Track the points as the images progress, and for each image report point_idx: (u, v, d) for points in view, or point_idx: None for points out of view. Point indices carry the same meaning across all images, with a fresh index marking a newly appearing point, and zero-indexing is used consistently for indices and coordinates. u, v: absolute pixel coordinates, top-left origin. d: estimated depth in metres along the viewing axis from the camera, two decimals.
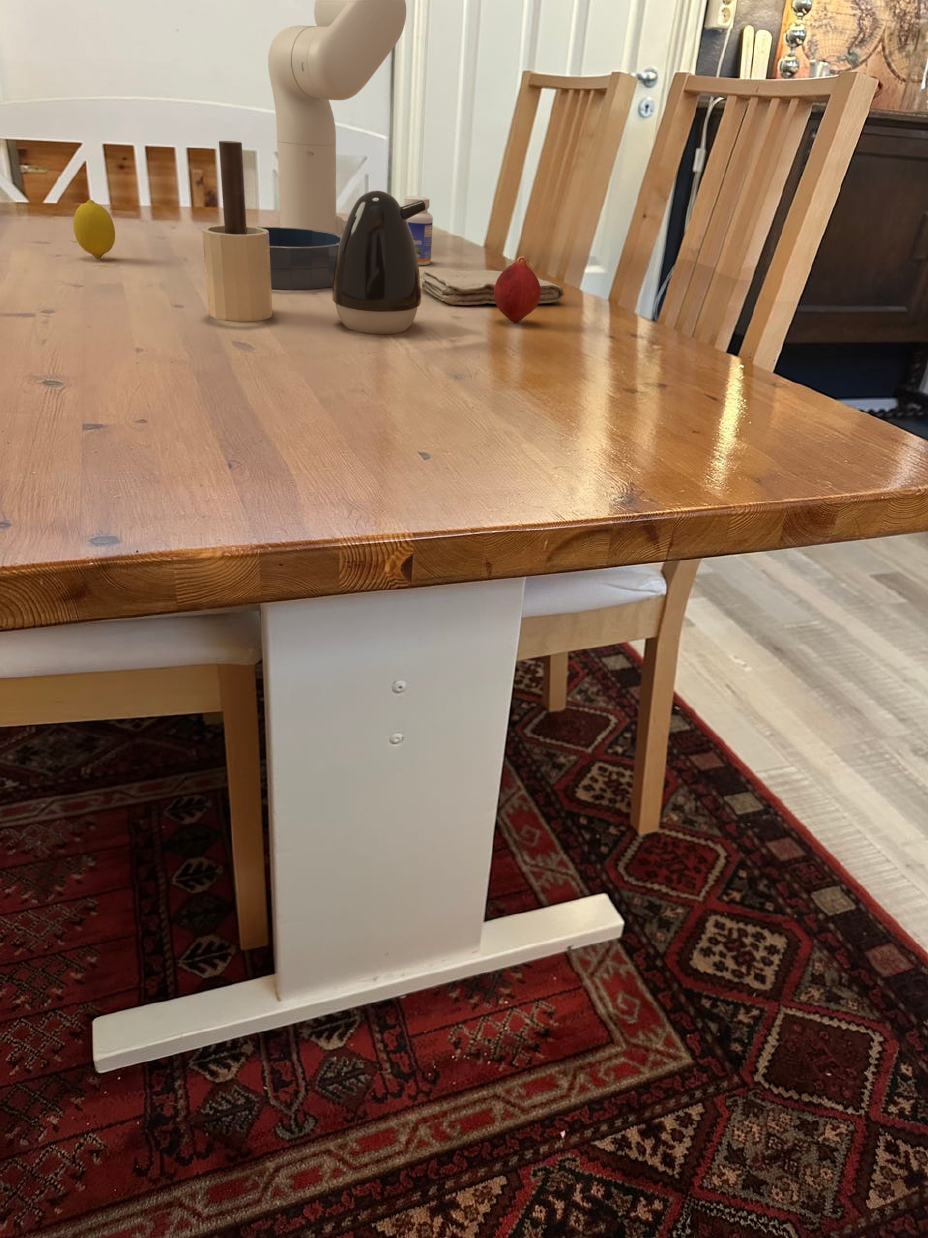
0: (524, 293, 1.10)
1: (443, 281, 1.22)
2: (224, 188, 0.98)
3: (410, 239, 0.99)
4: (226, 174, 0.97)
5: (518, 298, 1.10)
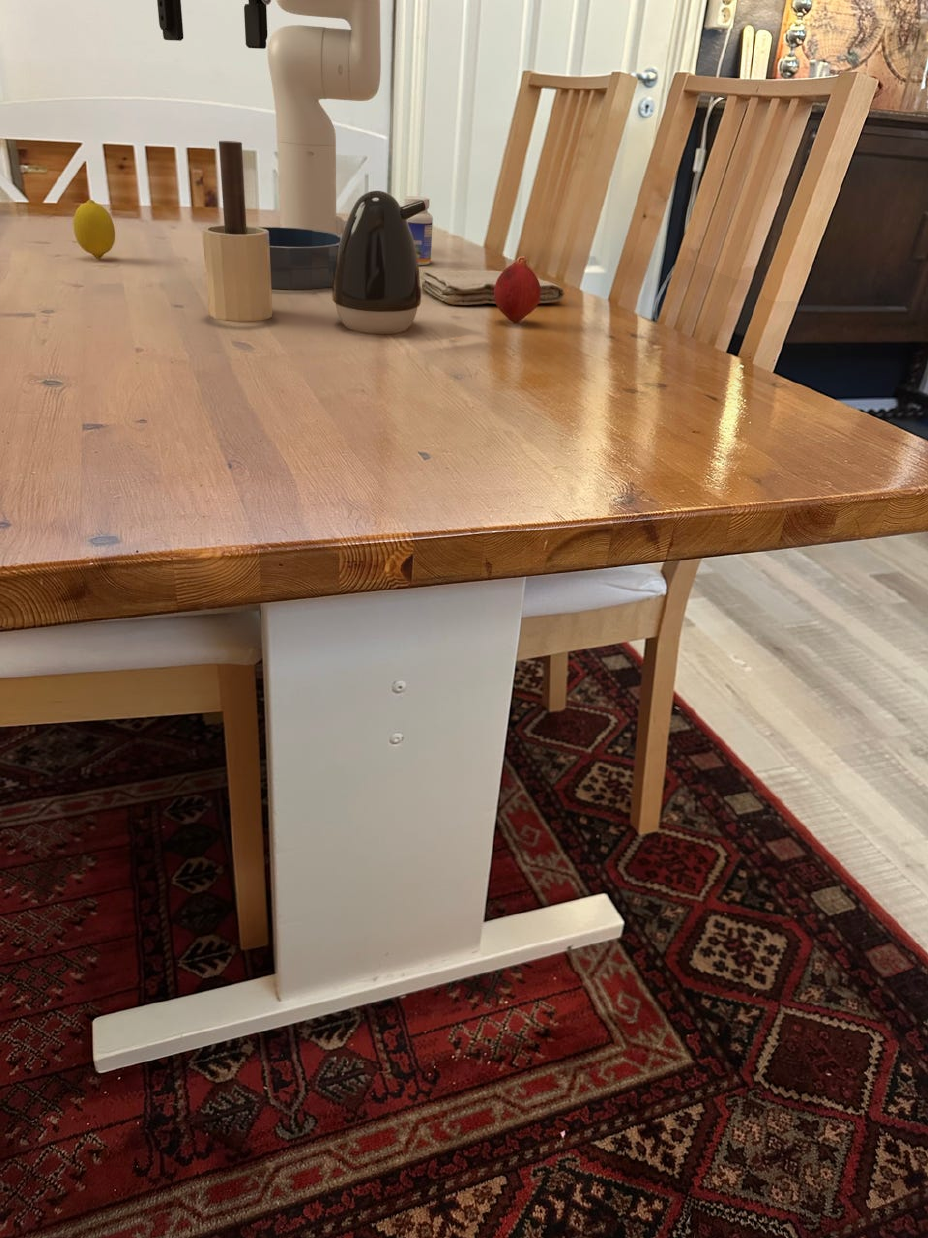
0: (524, 293, 1.10)
1: (443, 281, 1.22)
2: (224, 188, 0.98)
3: (410, 239, 0.99)
4: (226, 174, 0.97)
5: (518, 298, 1.10)
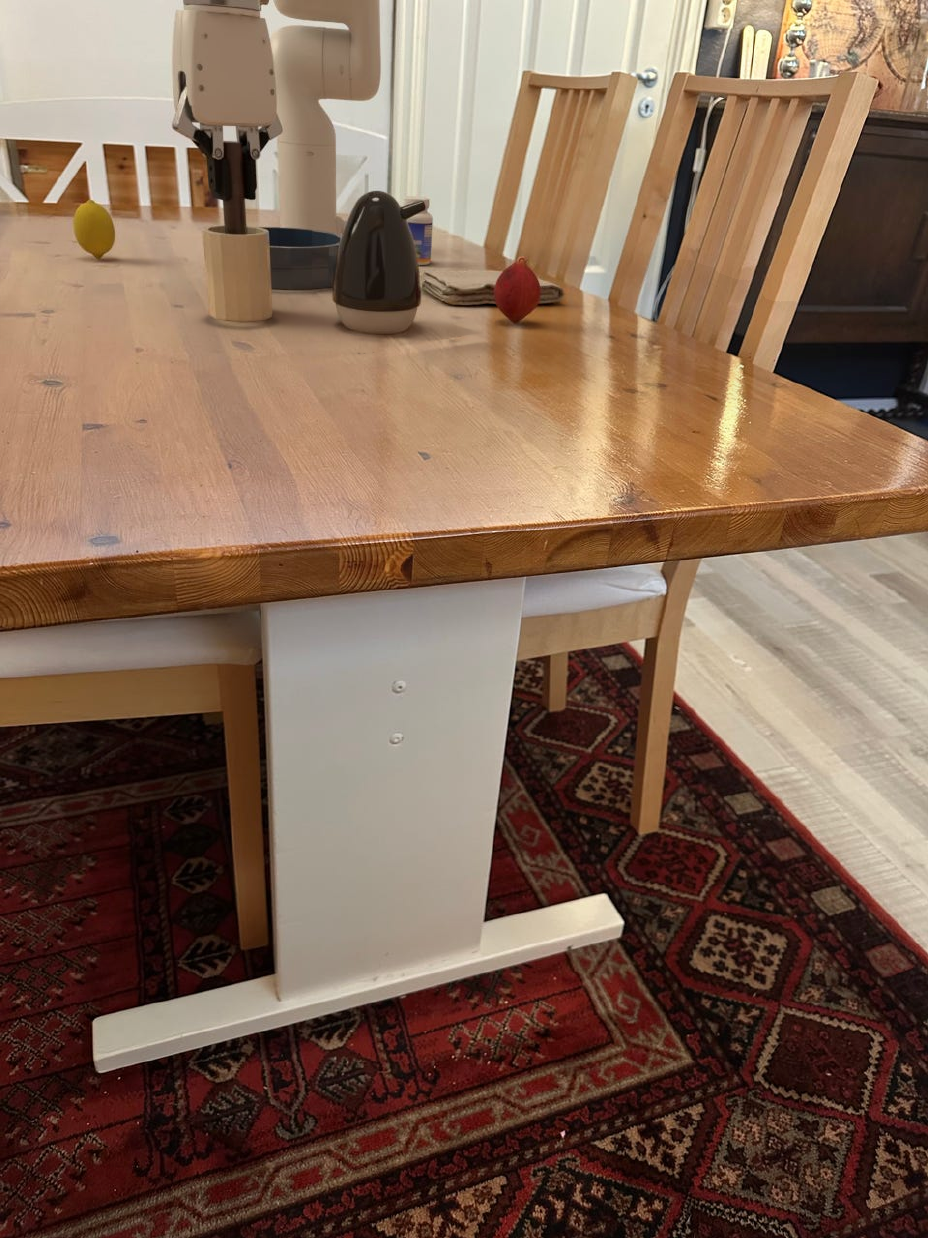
0: (524, 293, 1.10)
1: (443, 281, 1.22)
2: None
3: (410, 239, 0.99)
4: None
5: (518, 298, 1.10)
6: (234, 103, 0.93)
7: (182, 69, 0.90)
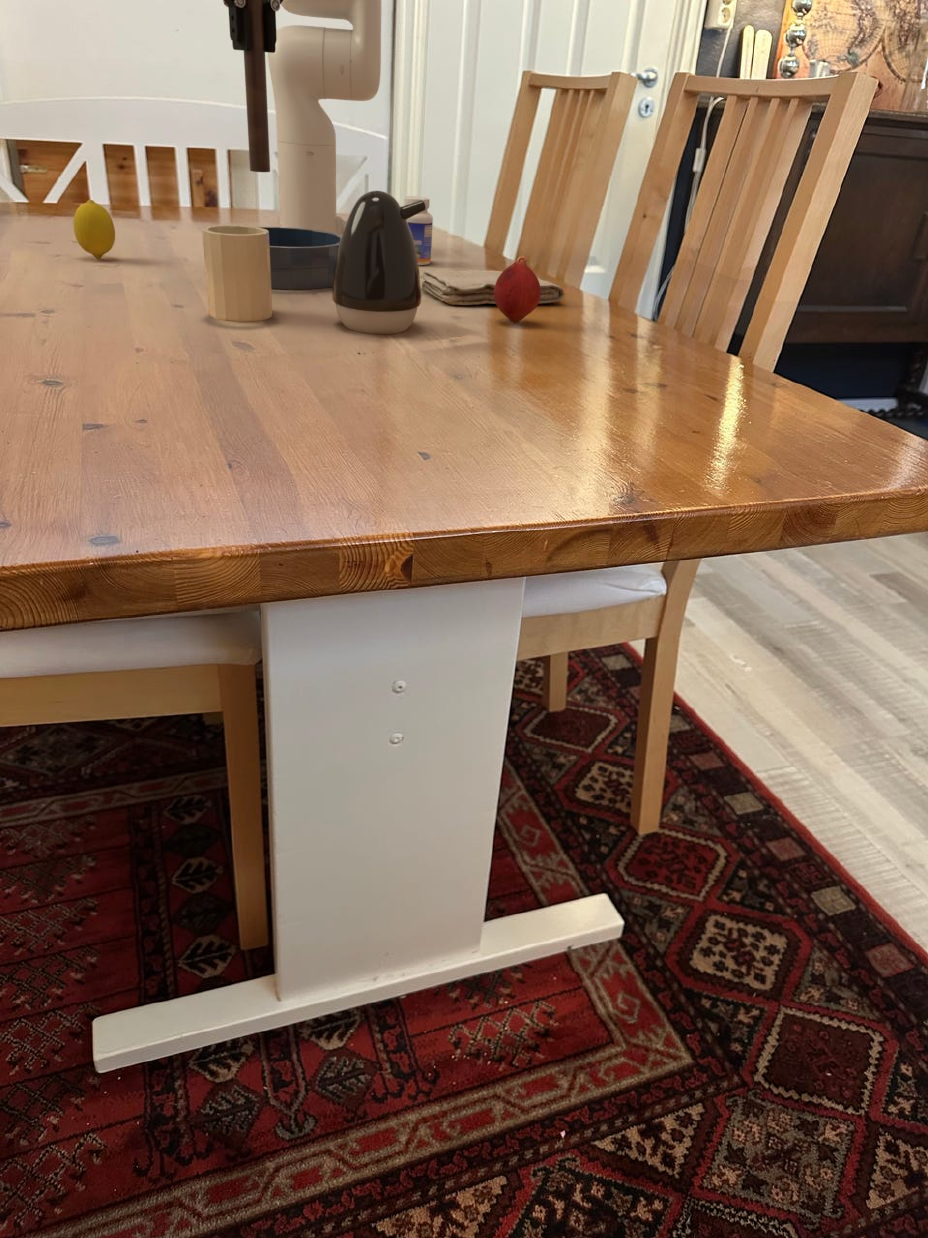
0: (524, 293, 1.10)
1: (443, 281, 1.22)
2: None
3: (410, 239, 0.99)
4: None
5: (518, 298, 1.10)
6: None
7: None
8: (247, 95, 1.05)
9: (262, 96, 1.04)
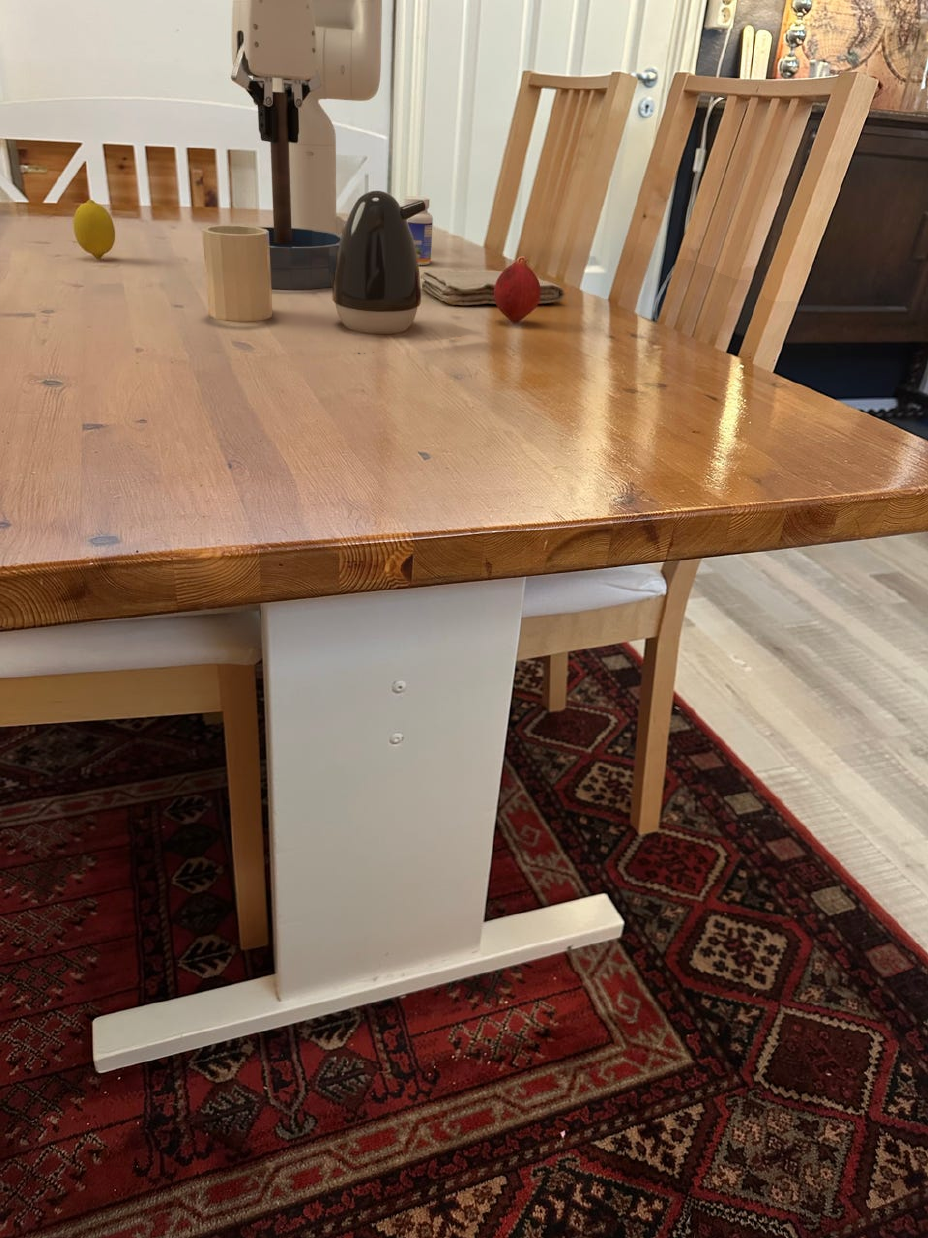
0: (524, 293, 1.10)
1: (443, 281, 1.22)
2: None
3: (410, 239, 0.99)
4: None
5: (518, 298, 1.10)
6: (282, 58, 1.11)
7: (240, 29, 1.08)
8: (272, 178, 1.19)
9: (286, 179, 1.19)
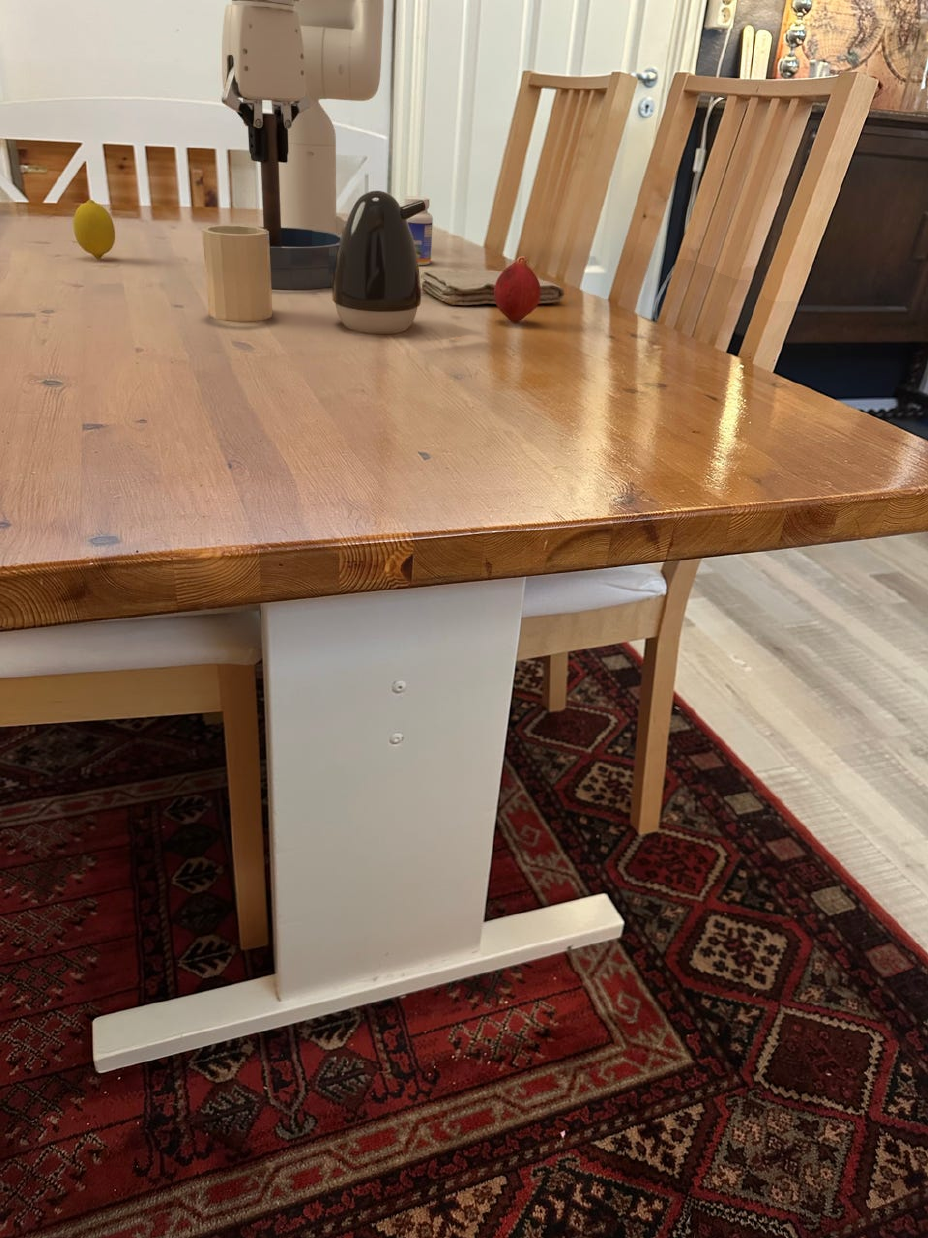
0: (524, 293, 1.10)
1: (443, 281, 1.22)
2: None
3: (410, 239, 0.99)
4: None
5: (518, 298, 1.10)
6: (272, 81, 1.14)
7: (230, 53, 1.11)
8: (263, 197, 1.22)
9: (276, 198, 1.22)
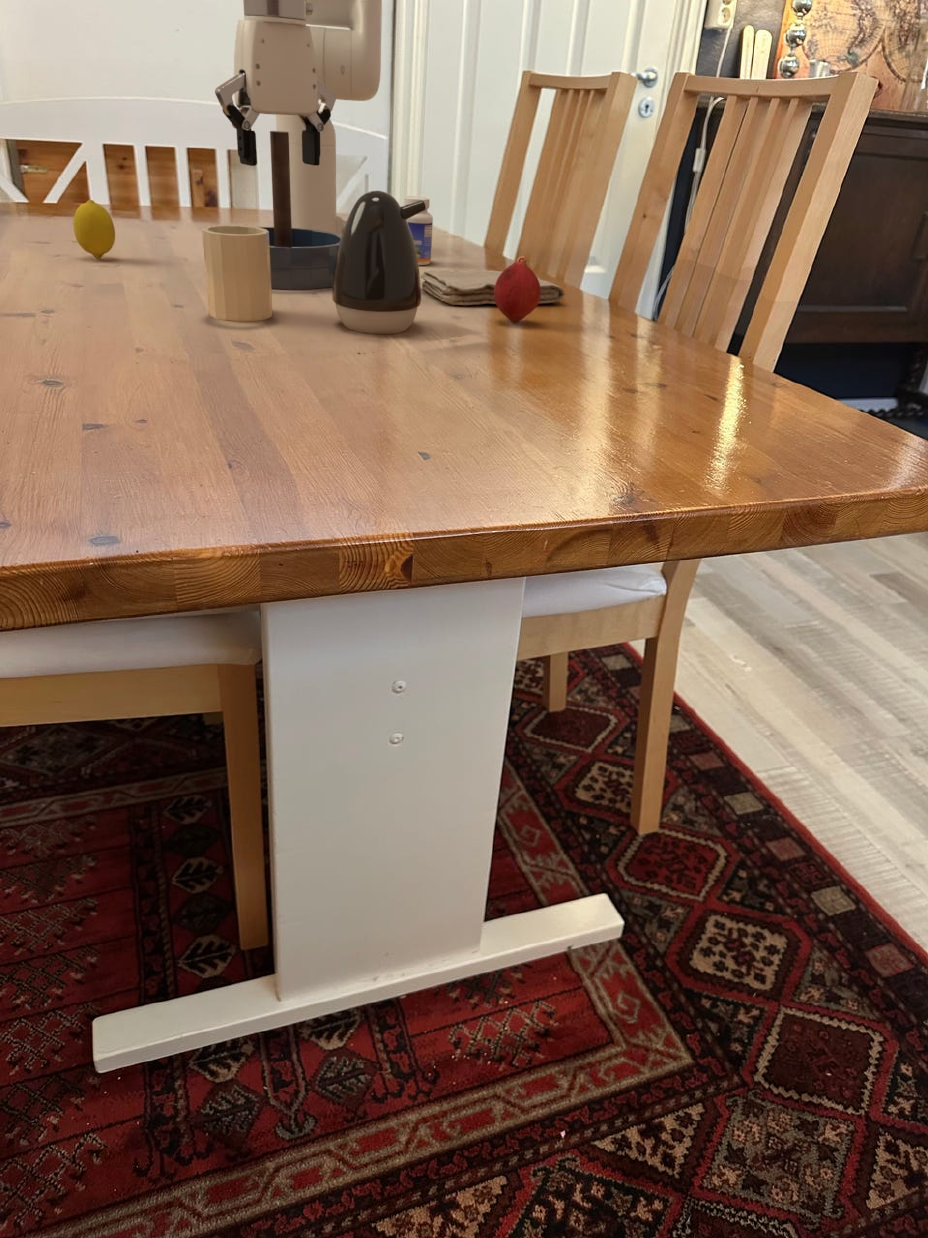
0: (524, 293, 1.10)
1: (443, 281, 1.22)
2: (273, 170, 1.19)
3: (410, 239, 0.99)
4: (276, 158, 1.18)
5: (518, 298, 1.10)
6: (284, 96, 1.13)
7: (243, 68, 1.10)
8: (274, 215, 1.22)
9: (287, 216, 1.21)
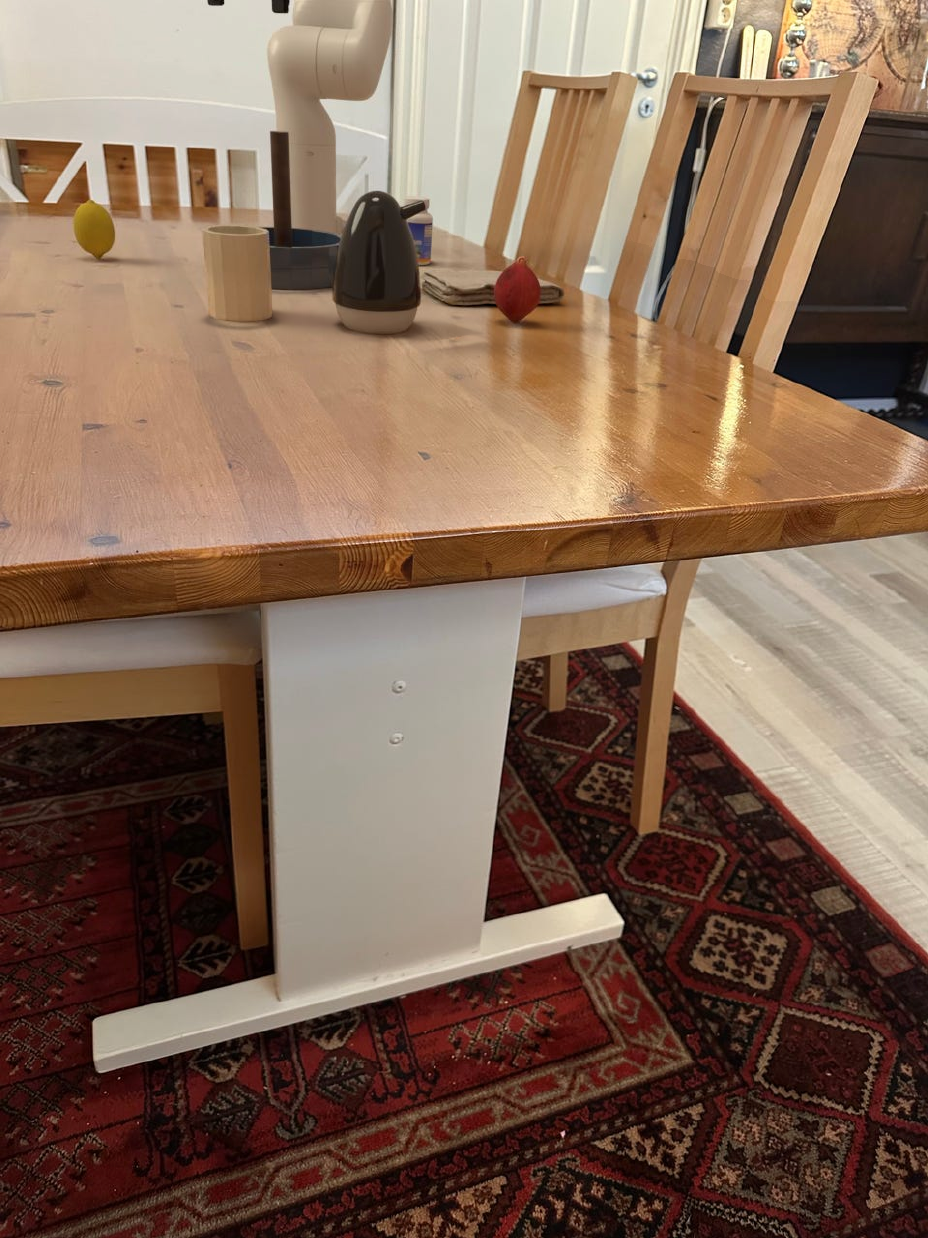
0: (524, 293, 1.10)
1: (443, 281, 1.22)
2: (273, 170, 1.19)
3: (410, 239, 0.99)
4: (276, 158, 1.18)
5: (518, 298, 1.10)
6: None
7: None
8: (274, 215, 1.22)
9: (287, 216, 1.21)
